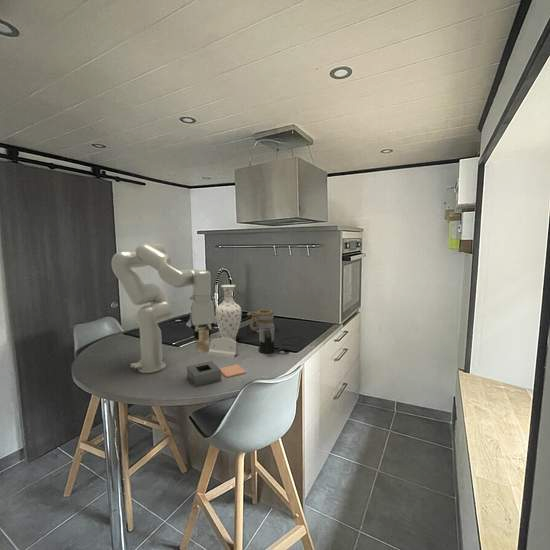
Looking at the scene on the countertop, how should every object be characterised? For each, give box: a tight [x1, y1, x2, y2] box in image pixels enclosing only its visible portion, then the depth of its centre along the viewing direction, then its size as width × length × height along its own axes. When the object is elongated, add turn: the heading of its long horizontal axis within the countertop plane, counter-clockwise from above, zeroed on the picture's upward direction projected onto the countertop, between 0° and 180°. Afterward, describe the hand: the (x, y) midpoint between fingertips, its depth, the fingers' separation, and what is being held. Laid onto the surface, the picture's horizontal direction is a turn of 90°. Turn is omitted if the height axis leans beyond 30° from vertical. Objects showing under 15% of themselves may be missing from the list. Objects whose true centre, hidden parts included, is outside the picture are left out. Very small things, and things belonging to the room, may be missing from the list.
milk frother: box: [258, 324, 290, 354], centre depth 172 cm, size 14×16×15 cm
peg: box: [195, 326, 210, 354], centre depth 136 cm, size 4×4×10 cm
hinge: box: [207, 337, 239, 359], centre depth 168 cm, size 17×5×10 cm, turn 74°
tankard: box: [246, 309, 275, 334], centre depth 208 cm, size 20×13×15 cm, turn 118°
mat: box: [218, 364, 247, 379], centre depth 145 cm, size 10×10×1 cm
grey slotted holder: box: [186, 360, 222, 388], centre depth 138 cm, size 12×12×5 cm
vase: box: [215, 284, 242, 341], centre depth 188 cm, size 16×16×35 cm
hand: (202, 337), depth 136 cm, fingers closed on peg, 4 cm apart
